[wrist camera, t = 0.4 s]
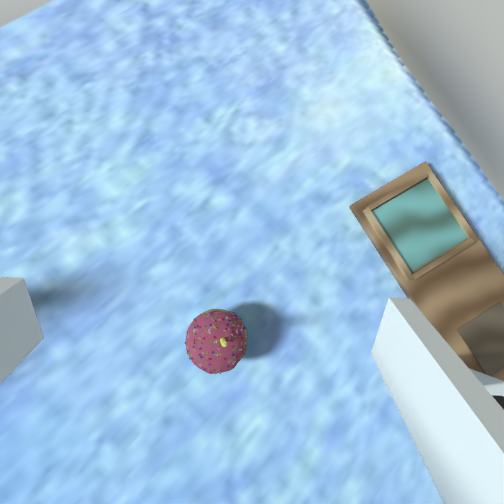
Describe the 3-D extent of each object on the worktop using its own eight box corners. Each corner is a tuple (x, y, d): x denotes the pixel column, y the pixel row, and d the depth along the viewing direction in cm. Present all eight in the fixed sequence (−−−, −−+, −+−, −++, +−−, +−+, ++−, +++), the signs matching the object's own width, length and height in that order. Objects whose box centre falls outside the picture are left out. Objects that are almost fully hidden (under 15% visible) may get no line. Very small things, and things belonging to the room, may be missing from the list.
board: (545, 348, 44) (561, 351, 41) (471, 397, 43) (484, 403, 40) (420, 165, 47) (428, 158, 45) (349, 206, 46) (354, 202, 44)
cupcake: (231, 297, 44) (225, 300, 32) (257, 346, 43) (261, 369, 31) (182, 323, 44) (157, 337, 32) (207, 374, 43) (191, 408, 31)
